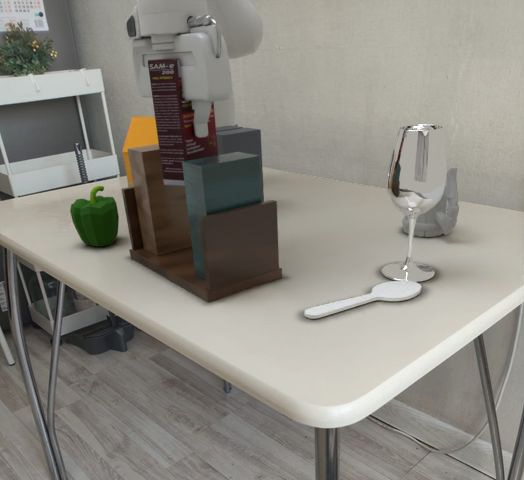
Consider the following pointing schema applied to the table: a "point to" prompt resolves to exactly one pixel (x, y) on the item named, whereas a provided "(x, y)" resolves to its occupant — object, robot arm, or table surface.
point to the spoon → (369, 298)
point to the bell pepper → (96, 219)
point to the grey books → (240, 144)
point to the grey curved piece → (439, 212)
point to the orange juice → (139, 139)
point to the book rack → (203, 223)
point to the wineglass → (415, 187)
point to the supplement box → (177, 122)
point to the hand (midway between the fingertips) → (186, 134)
